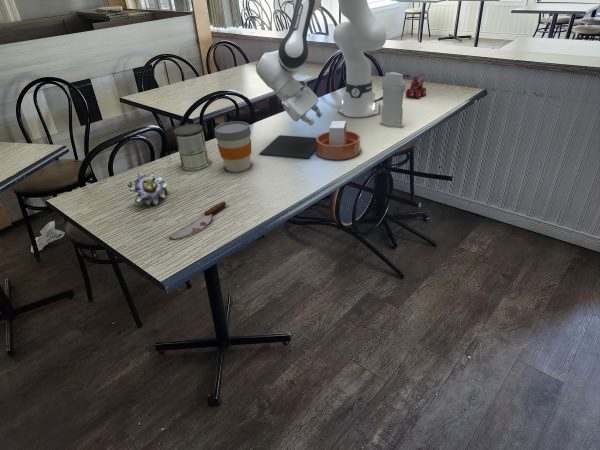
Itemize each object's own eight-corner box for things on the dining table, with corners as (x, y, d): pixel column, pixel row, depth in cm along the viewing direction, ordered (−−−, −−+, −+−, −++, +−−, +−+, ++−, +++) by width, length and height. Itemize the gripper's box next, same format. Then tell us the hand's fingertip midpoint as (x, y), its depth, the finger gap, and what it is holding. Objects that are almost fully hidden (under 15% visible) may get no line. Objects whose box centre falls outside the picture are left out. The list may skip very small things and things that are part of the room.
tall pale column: (378, 124, 182) (379, 72, 170) (382, 121, 184) (385, 69, 173) (400, 128, 176) (403, 74, 164) (404, 125, 178) (408, 72, 167)
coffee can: (176, 165, 158) (168, 129, 150) (200, 157, 164) (192, 122, 156) (191, 173, 151) (183, 135, 144) (215, 163, 157) (208, 127, 150)
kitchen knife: (179, 241, 113) (167, 234, 115) (180, 246, 114) (168, 238, 116) (234, 205, 126) (222, 199, 128) (234, 209, 127) (223, 203, 129)
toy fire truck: (403, 98, 212) (404, 77, 206) (415, 92, 220) (416, 72, 214) (415, 100, 208) (417, 78, 202) (427, 94, 216) (429, 73, 210)
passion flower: (160, 218, 136) (137, 203, 125) (138, 205, 140) (114, 189, 129) (180, 190, 138) (160, 172, 127) (157, 178, 142) (136, 160, 132)
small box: (344, 155, 155) (344, 127, 149) (329, 155, 156) (328, 127, 151) (346, 147, 162) (346, 120, 156) (332, 147, 163) (331, 120, 157)
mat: (279, 136, 177) (279, 135, 177) (324, 139, 171) (324, 138, 170) (259, 154, 162) (259, 153, 161) (308, 159, 155) (307, 157, 155)
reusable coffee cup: (217, 164, 157) (210, 125, 149) (249, 157, 160) (244, 119, 152) (225, 177, 147) (218, 136, 139) (259, 169, 150) (254, 128, 142)
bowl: (324, 142, 168) (324, 129, 165) (364, 145, 163) (364, 131, 160) (311, 158, 156) (310, 144, 153) (353, 162, 150) (353, 147, 147)
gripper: (285, 94, 143) (313, 123, 145) (305, 79, 159) (330, 106, 161) (274, 106, 147) (302, 135, 149) (295, 91, 163) (320, 117, 165)
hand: (317, 120), depth 155 cm, fingers open, 8 cm apart
